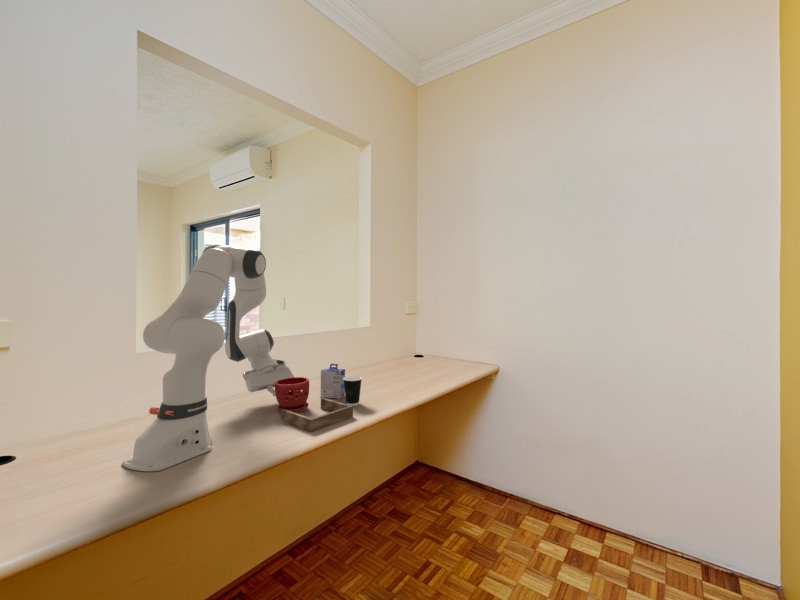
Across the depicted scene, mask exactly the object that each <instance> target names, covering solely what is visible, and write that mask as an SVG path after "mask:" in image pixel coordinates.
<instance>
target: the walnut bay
mask: <svg viewBox="0 0 800 600" xmlns="http://www.w3.org/2000/svg"><path fill="white" fill-rule="evenodd" d="M320 409H322V410H325V411H327V413H324V414H321V415H318V416H315V417H313V418H311V417H309V416H306V415H302V414H300V413H294V412H292V411H289V410H286V409H282V410H281V412H280V413H281V414H280V416H281V417H280V421H281V422H284V423H286V424H289V425H291V426H295V427H297V428H300V429H303V430H305V431H307V432H310V433H313V432H315V431H317V430H321V429H324V428H326V427H329V426H332V425H334V424H337V423H340V422H342V421H345V420H348V419H351V418H353V417H354V406H350V405H347V403H343V402H339V401H336V400H333V399H330V398H323V397H320Z"/></svg>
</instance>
